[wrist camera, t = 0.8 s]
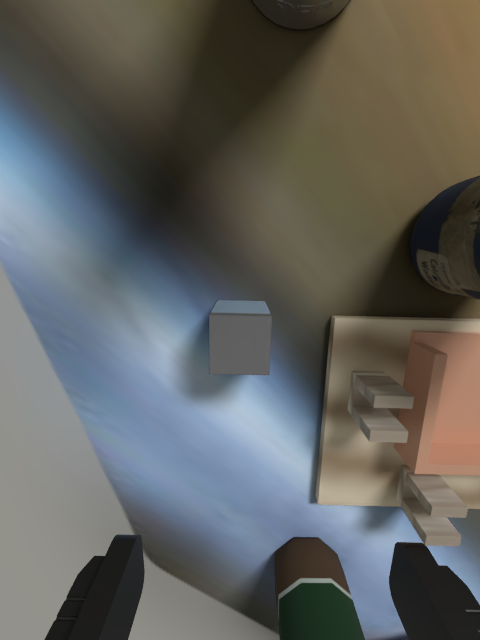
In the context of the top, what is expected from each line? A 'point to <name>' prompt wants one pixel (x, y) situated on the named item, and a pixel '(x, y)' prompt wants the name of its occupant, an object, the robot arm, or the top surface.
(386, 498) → the board
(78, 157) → the top surface
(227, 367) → the grey block
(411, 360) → the tray
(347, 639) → the beer bottle
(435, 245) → the canister
